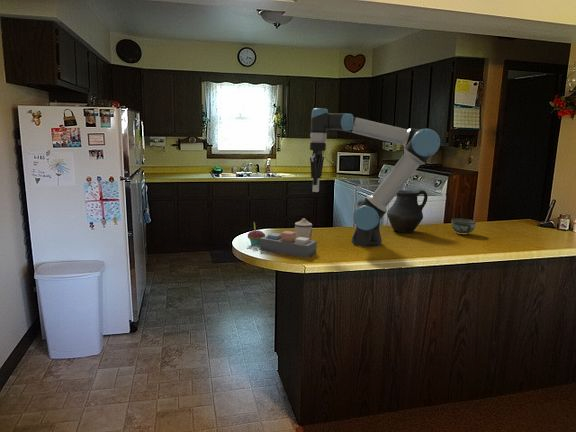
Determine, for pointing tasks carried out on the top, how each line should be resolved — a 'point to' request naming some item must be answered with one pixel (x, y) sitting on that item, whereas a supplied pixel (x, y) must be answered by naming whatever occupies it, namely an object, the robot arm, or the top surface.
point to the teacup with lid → (303, 229)
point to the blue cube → (274, 236)
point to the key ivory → (302, 240)
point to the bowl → (463, 225)
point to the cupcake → (255, 236)
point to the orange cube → (288, 236)
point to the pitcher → (406, 211)
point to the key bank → (288, 247)
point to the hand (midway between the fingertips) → (315, 191)
